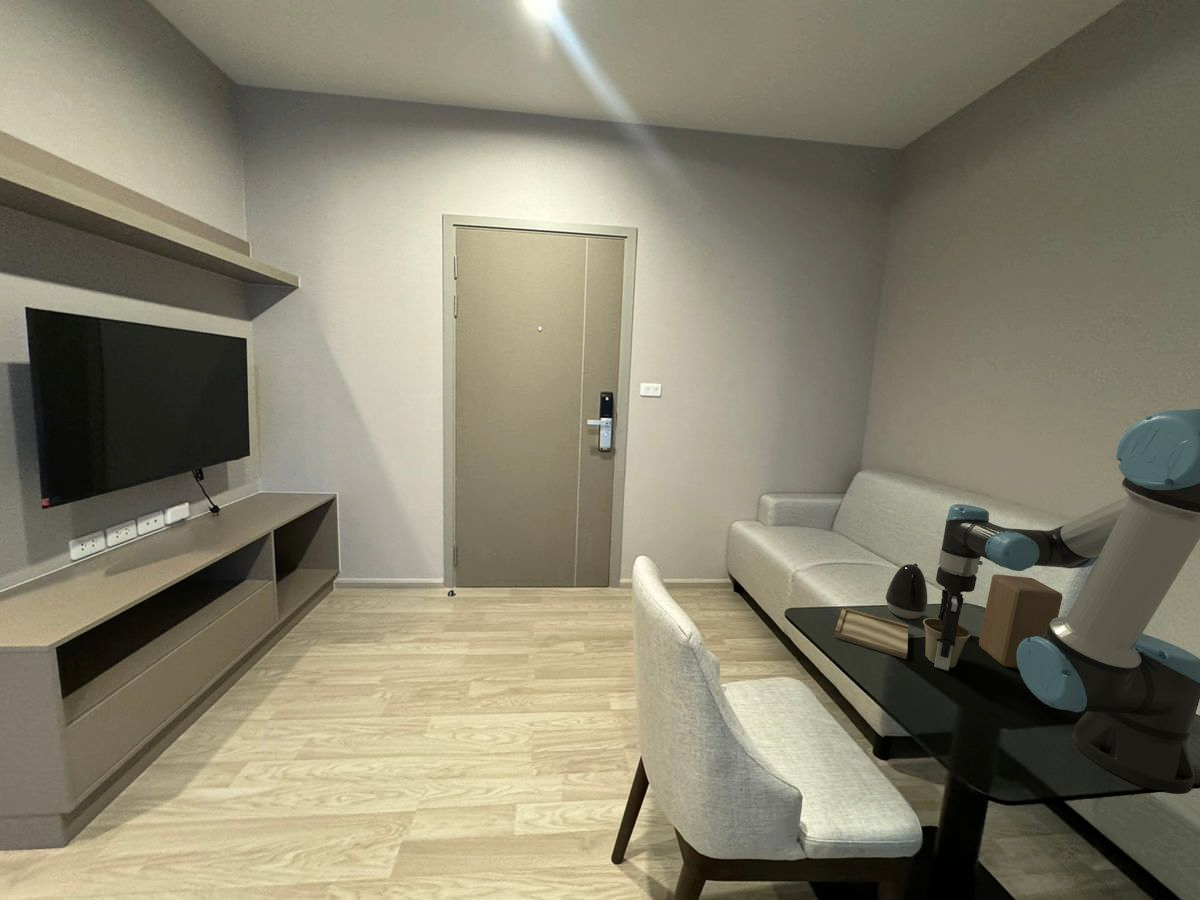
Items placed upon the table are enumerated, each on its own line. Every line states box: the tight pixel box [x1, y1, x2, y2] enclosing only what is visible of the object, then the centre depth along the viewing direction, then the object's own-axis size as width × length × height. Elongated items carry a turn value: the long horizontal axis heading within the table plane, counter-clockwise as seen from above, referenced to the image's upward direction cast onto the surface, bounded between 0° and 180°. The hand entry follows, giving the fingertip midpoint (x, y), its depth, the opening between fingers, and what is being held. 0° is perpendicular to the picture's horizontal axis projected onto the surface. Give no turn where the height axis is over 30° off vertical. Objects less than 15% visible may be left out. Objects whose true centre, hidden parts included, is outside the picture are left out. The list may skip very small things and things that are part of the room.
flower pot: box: [922, 617, 972, 668], centre depth 120 cm, size 9×9×9 cm
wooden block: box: [978, 573, 1063, 669], centre depth 122 cm, size 10×10×20 cm
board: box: [833, 606, 909, 660], centre depth 131 cm, size 16×16×2 cm
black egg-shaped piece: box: [885, 563, 928, 620], centre depth 143 cm, size 10×10×15 cm
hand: (940, 659), depth 120 cm, fingers closed on flower pot, 8 cm apart
